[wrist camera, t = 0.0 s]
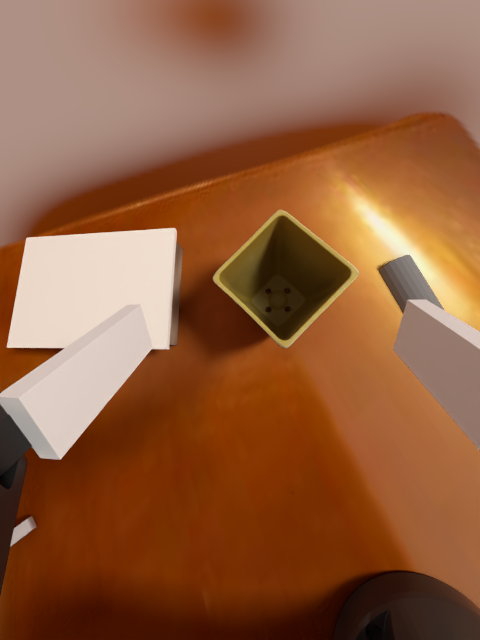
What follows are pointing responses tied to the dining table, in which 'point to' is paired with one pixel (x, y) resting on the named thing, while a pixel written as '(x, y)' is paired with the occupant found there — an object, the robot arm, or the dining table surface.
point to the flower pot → (285, 277)
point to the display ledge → (96, 286)
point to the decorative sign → (22, 530)
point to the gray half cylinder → (407, 282)
